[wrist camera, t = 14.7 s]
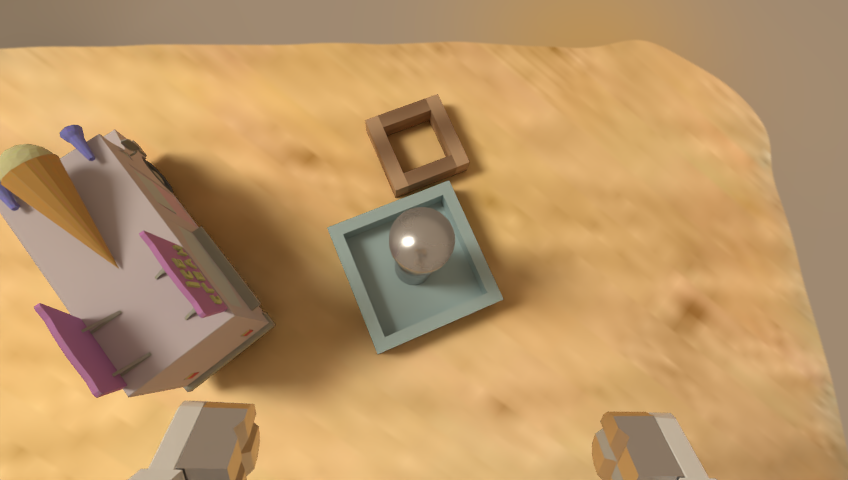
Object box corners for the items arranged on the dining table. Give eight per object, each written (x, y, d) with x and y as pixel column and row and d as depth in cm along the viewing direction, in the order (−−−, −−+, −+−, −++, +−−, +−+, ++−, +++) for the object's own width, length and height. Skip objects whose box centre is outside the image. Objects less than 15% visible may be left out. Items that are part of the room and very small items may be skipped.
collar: (466, 170, 44) (469, 162, 42) (395, 197, 43) (395, 190, 41) (435, 105, 45) (437, 94, 43) (366, 130, 44) (365, 120, 42)
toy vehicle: (156, 148, 43) (34, 44, 28) (289, 320, 40) (231, 305, 26) (61, 210, 41) (-122, 134, 26) (193, 395, 38) (73, 424, 24)
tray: (497, 302, 42) (503, 299, 39) (378, 353, 40) (377, 354, 38) (445, 189, 44) (449, 180, 41) (330, 234, 42) (327, 227, 40)
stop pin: (445, 280, 41) (465, 257, 30) (399, 298, 41) (403, 282, 30) (426, 235, 42) (439, 197, 31) (381, 253, 41) (379, 220, 31)
